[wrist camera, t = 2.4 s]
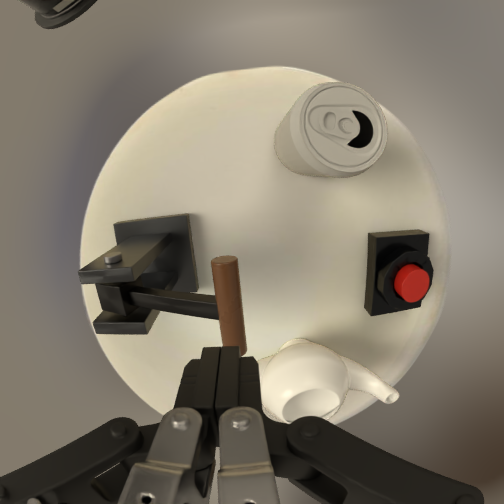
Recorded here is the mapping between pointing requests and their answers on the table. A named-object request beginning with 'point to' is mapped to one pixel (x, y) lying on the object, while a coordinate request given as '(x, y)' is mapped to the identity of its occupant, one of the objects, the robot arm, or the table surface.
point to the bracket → (144, 267)
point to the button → (411, 283)
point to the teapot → (314, 381)
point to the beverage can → (332, 132)
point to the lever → (187, 300)
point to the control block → (393, 268)
